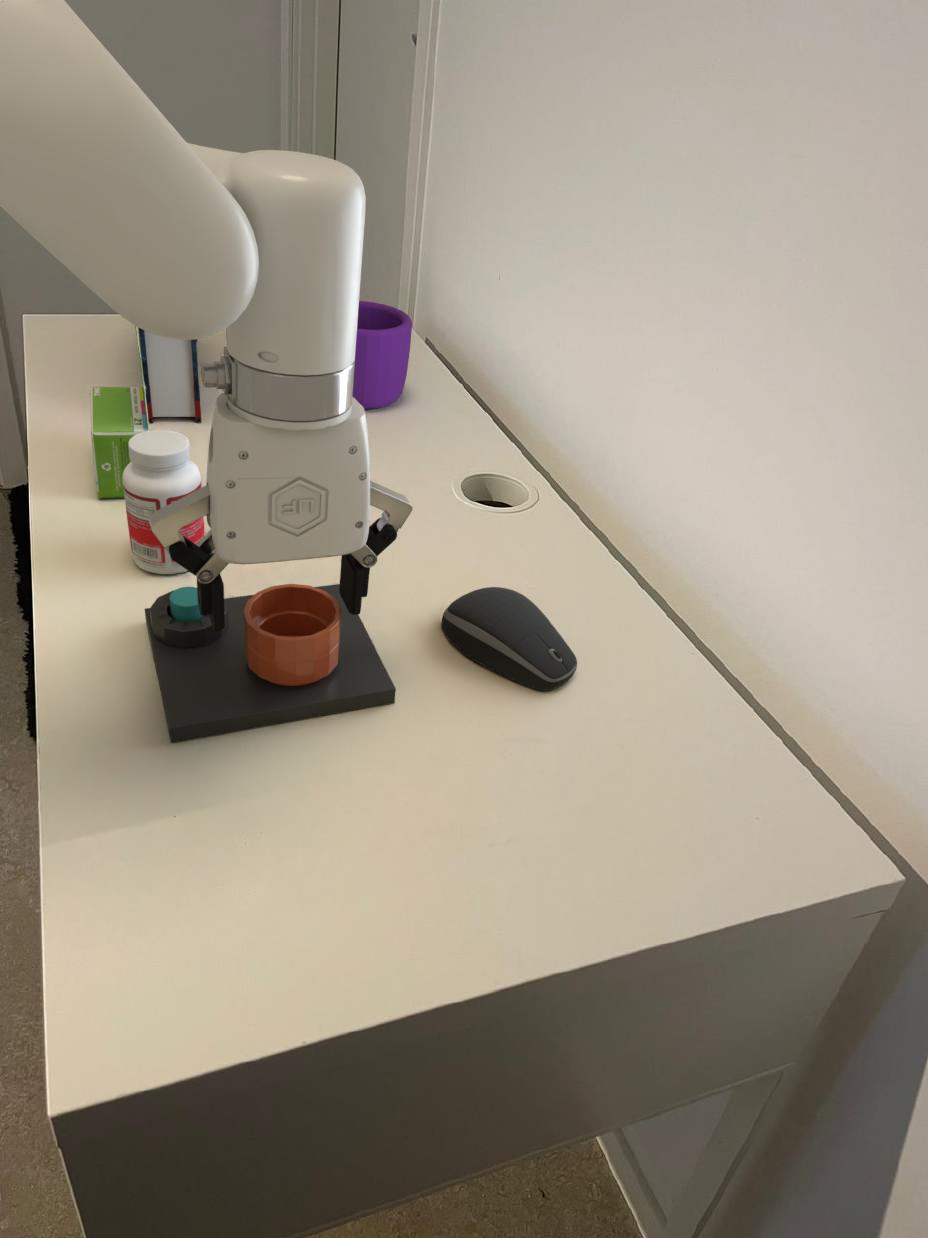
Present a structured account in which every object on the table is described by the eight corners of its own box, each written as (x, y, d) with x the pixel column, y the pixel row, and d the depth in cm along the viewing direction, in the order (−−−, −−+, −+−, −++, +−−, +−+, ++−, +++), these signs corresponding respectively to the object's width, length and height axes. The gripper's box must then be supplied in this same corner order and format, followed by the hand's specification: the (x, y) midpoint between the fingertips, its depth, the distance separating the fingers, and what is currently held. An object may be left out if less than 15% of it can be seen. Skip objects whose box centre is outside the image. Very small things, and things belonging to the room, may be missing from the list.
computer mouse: (540, 705, 69) (549, 664, 66) (422, 630, 74) (426, 591, 72) (591, 666, 73) (601, 627, 71) (476, 599, 79) (482, 560, 77)
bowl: (256, 697, 64) (255, 646, 61) (238, 639, 69) (236, 590, 66) (349, 681, 66) (352, 632, 63) (325, 627, 71) (326, 579, 68)
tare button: (173, 625, 67) (172, 608, 66) (168, 605, 69) (167, 588, 68) (209, 620, 68) (208, 603, 67) (203, 600, 70) (202, 584, 69)
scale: (170, 743, 61) (167, 710, 59) (145, 622, 71) (142, 591, 69) (394, 703, 67) (397, 672, 65) (342, 596, 77) (343, 567, 75)
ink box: (97, 451, 93) (78, 315, 84) (151, 449, 94) (138, 315, 86) (97, 501, 85) (77, 356, 77) (157, 498, 86) (143, 356, 78)
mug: (419, 411, 110) (427, 330, 104) (329, 417, 105) (332, 333, 100) (372, 358, 122) (376, 283, 116) (290, 362, 118) (290, 284, 112)
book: (144, 340, 118) (123, 128, 103) (199, 341, 120) (186, 132, 105) (142, 423, 99) (116, 176, 84) (207, 423, 101) (193, 181, 86)
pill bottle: (206, 538, 82) (199, 425, 75) (206, 576, 77) (199, 459, 71) (133, 539, 80) (120, 424, 74) (129, 578, 76) (115, 458, 69)
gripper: (148, 412, 48) (165, 660, 58) (445, 404, 55) (415, 628, 65) (132, 360, 54) (150, 595, 64) (405, 358, 60) (383, 571, 70)
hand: (284, 611), depth 64 cm, fingers open, 9 cm apart
